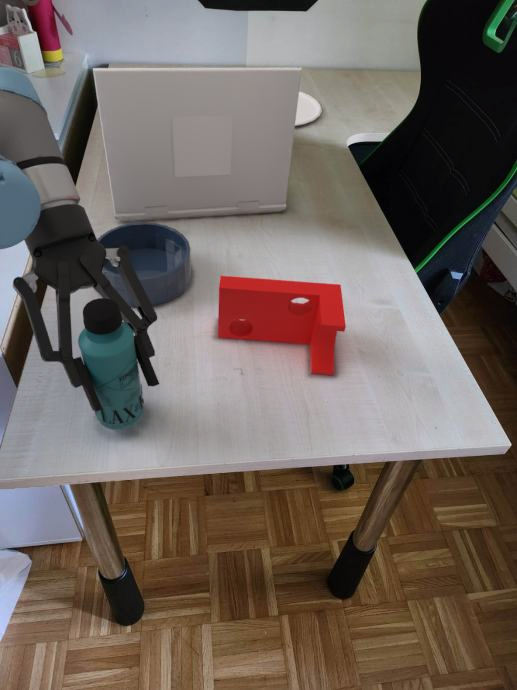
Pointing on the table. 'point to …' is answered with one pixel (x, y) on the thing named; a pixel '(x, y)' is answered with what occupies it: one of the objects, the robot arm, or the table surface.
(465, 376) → the table surface
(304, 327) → the bracket
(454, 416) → the table surface
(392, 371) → the table surface
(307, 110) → the plate
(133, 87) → the laptop
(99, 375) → the beverage bottle
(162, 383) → the table surface
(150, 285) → the bowl
